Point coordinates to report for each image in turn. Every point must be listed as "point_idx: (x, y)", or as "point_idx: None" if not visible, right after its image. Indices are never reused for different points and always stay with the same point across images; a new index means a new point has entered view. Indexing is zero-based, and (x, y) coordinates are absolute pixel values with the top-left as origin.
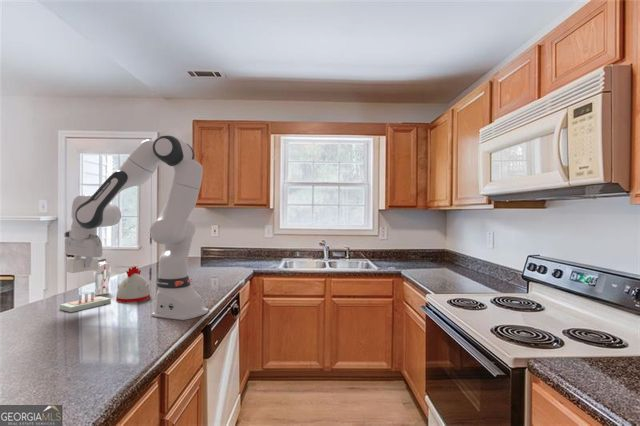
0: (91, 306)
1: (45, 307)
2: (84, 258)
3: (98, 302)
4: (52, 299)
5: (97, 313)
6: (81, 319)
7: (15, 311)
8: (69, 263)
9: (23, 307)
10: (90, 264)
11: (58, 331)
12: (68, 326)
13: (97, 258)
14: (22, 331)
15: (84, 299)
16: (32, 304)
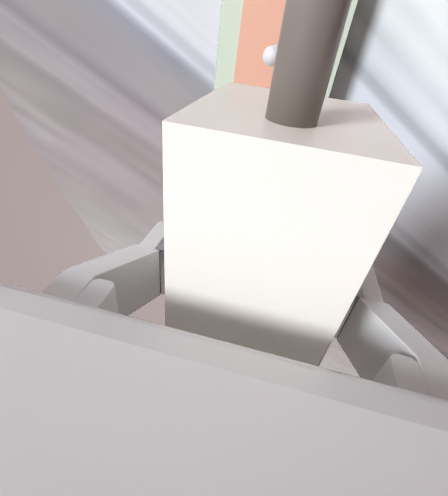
0: None
1: (133, 174)
2: (223, 317)
3: (339, 57)
4: (5, 62)
5: (442, 173)
6: (425, 253)
7: (109, 237)
8: None
9: (73, 198)
10: (379, 288)
11: (437, 344)
12: (434, 312)
13: (404, 185)
14: (327, 350)
15: (218, 63)
16: (47, 159)
